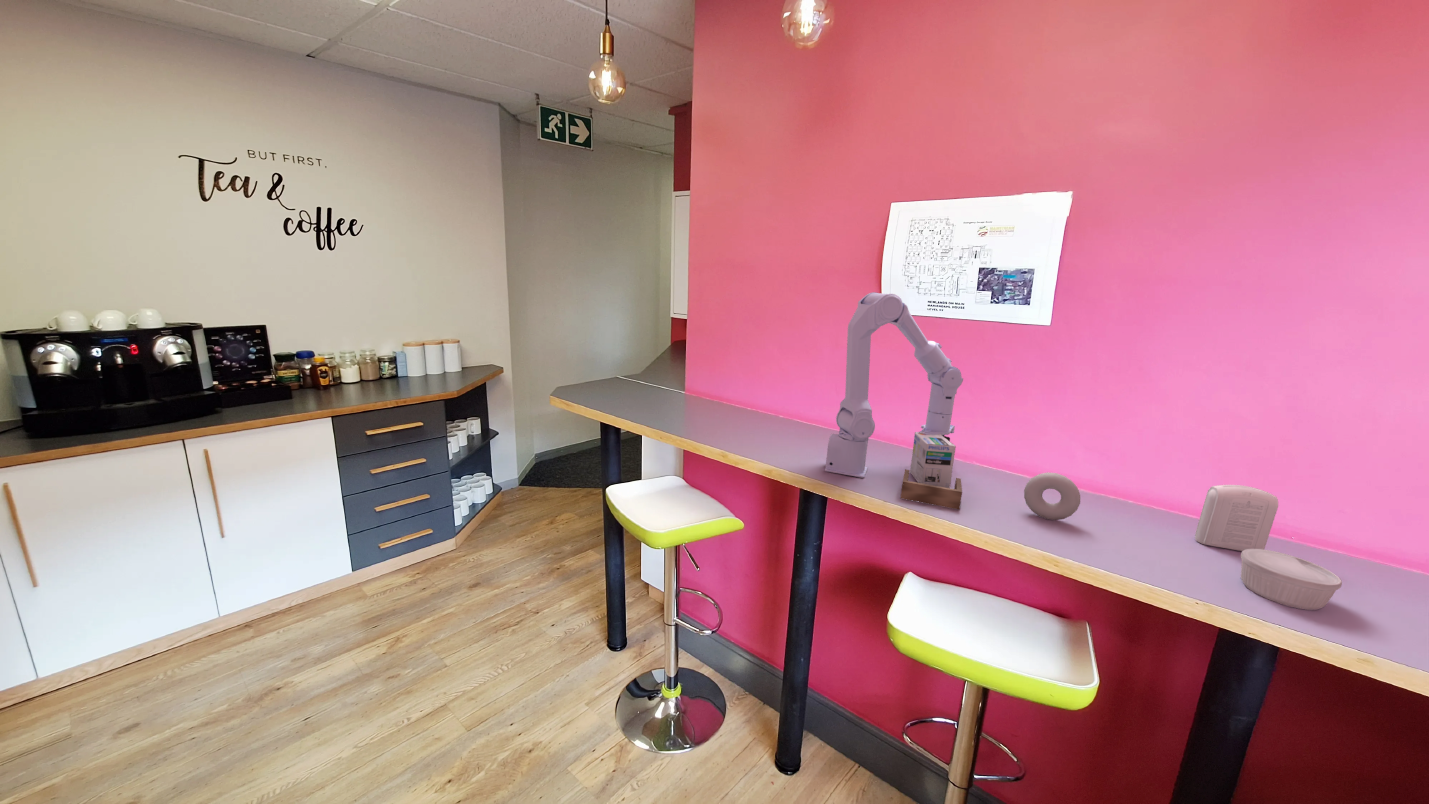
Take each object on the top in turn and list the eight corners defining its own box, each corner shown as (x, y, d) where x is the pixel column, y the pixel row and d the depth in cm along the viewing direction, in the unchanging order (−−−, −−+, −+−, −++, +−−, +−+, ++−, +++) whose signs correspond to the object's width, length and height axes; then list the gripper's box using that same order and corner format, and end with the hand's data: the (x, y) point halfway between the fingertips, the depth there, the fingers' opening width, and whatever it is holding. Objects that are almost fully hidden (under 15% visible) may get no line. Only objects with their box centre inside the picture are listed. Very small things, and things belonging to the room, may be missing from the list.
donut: (1075, 522, 111) (1085, 477, 109) (1074, 528, 108) (1085, 481, 106) (1020, 509, 117) (1029, 465, 115) (1018, 514, 114) (1027, 469, 112)
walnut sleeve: (900, 498, 119) (902, 481, 118) (902, 485, 127) (905, 469, 126) (959, 509, 115) (962, 492, 114) (958, 495, 123) (960, 478, 122)
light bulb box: (950, 489, 126) (957, 445, 123) (921, 487, 126) (927, 443, 124) (935, 473, 136) (941, 432, 134) (908, 472, 136) (913, 431, 134)
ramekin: (1353, 615, 83) (1364, 584, 82) (1288, 615, 82) (1298, 584, 81) (1274, 576, 94) (1283, 548, 93) (1215, 575, 93) (1223, 547, 92)
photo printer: (1253, 546, 105) (1271, 487, 102) (1267, 556, 101) (1287, 495, 98) (1189, 536, 108) (1205, 478, 105) (1201, 546, 104) (1218, 486, 101)
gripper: (939, 405, 143) (932, 454, 146) (909, 411, 134) (902, 463, 137) (965, 411, 138) (957, 461, 141) (936, 418, 129) (928, 471, 132)
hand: (932, 463), depth 139 cm, fingers closed
